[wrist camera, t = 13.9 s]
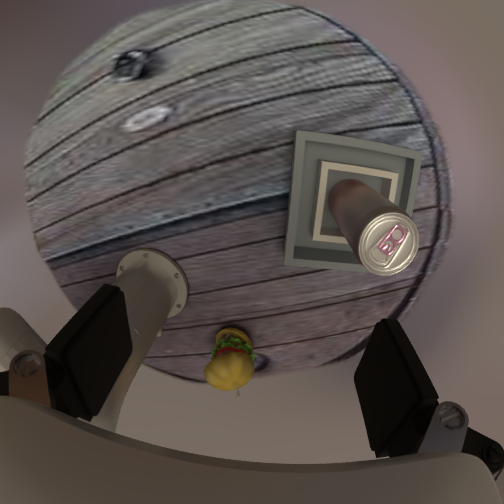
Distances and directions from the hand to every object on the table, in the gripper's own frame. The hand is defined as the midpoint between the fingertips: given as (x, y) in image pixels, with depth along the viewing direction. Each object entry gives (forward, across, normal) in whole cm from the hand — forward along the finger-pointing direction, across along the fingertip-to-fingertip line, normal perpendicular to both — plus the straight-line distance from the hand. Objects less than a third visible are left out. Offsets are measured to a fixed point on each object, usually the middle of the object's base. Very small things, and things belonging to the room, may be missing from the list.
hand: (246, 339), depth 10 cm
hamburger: (+30, +2, +25) cm, 39 cm away
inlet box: (+28, -11, -1) cm, 31 cm away
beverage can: (+28, -11, -1) cm, 30 cm away
